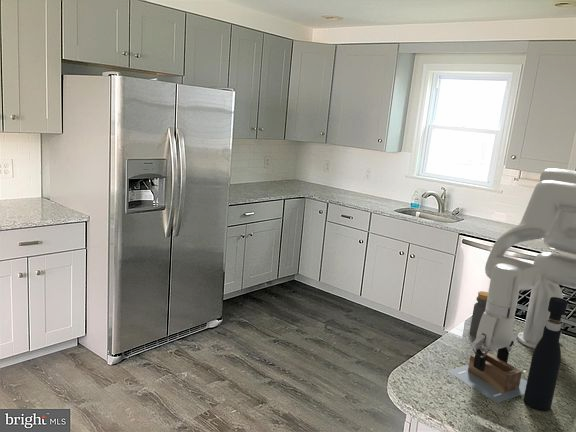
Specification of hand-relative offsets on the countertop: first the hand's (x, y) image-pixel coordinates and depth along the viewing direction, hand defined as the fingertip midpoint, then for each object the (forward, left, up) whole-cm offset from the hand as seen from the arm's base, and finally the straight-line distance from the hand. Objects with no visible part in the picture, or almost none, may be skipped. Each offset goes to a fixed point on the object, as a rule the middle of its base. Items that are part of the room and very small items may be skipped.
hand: (490, 365), depth 139 cm
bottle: (-23, -22, -5) cm, 33 cm away
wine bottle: (-1, +15, -5) cm, 15 cm away
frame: (0, +2, -3) cm, 4 cm away
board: (0, +2, -5) cm, 5 cm away
